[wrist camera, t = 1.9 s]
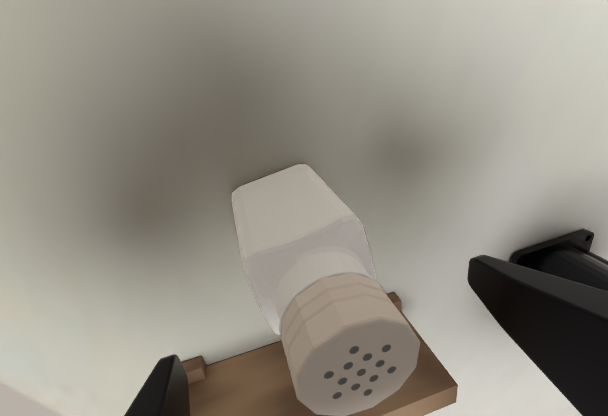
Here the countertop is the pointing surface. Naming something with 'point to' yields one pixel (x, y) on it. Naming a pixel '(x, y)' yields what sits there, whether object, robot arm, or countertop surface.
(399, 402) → the walnut screen
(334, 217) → the pepper shaker
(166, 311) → the countertop surface
